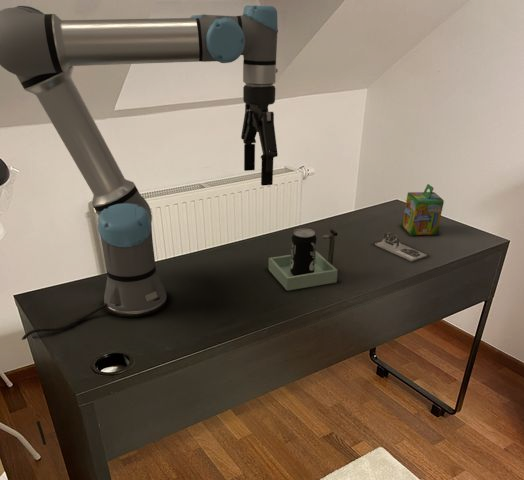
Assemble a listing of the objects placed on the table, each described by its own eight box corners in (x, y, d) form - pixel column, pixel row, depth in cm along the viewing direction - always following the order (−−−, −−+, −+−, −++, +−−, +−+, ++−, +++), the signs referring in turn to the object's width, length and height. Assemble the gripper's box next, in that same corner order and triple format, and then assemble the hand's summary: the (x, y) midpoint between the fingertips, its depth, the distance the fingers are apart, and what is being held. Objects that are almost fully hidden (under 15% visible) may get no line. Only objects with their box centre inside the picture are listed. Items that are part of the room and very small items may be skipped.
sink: (286, 290, 138) (287, 278, 136) (268, 269, 148) (268, 257, 146) (336, 282, 142) (337, 270, 140) (315, 262, 152) (316, 250, 150)
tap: (322, 274, 146) (325, 234, 139) (318, 270, 148) (321, 230, 141) (334, 272, 147) (338, 232, 140) (330, 268, 149) (333, 229, 142)
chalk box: (401, 226, 177) (408, 181, 169) (427, 225, 178) (435, 181, 170) (410, 236, 170) (418, 190, 161) (437, 235, 170) (447, 189, 162)
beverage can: (305, 281, 141) (308, 239, 134) (285, 274, 144) (287, 233, 137) (318, 272, 145) (321, 231, 139) (298, 266, 149) (300, 226, 142)
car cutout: (374, 244, 164) (376, 231, 161) (389, 240, 167) (391, 226, 164) (411, 261, 153) (414, 247, 151) (426, 256, 157) (429, 242, 154)
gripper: (294, 92, 113) (289, 190, 125) (257, 77, 133) (255, 163, 145) (262, 93, 111) (259, 192, 123) (228, 78, 131) (229, 165, 142)
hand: (257, 177), depth 134 cm, fingers open, 13 cm apart
